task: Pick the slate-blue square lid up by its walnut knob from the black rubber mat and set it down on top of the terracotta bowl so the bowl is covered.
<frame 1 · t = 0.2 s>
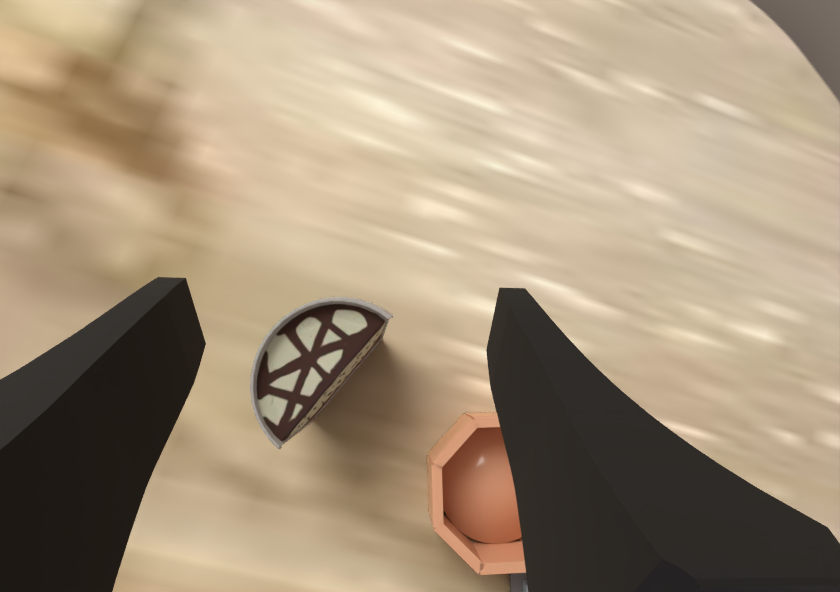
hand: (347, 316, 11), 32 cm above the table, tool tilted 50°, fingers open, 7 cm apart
food container: (322, 357, 42), on the table
bowl: (493, 480, 41), on the table
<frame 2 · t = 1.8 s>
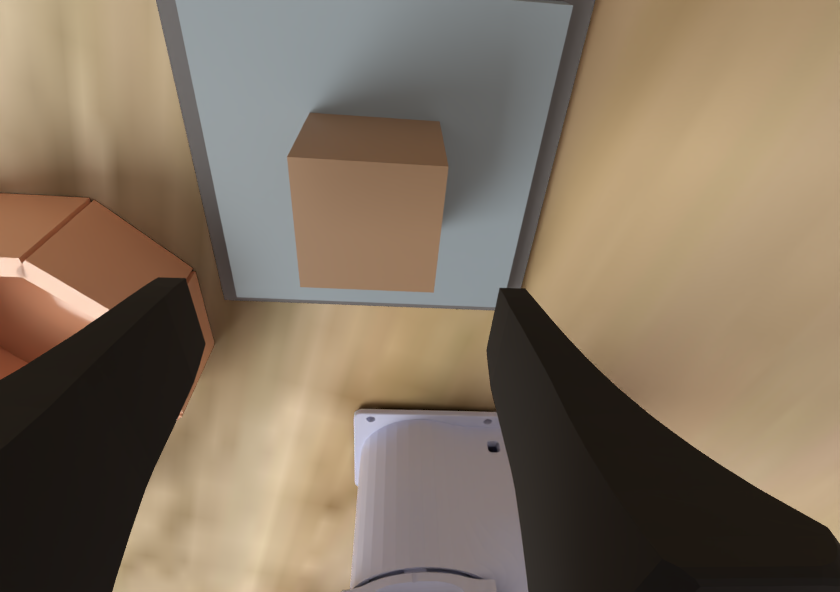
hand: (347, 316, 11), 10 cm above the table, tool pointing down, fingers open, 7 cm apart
lid: (372, 195, 16), on the mat
bowl: (82, 305, 23), on the table
mat: (375, 163, 19), on the table
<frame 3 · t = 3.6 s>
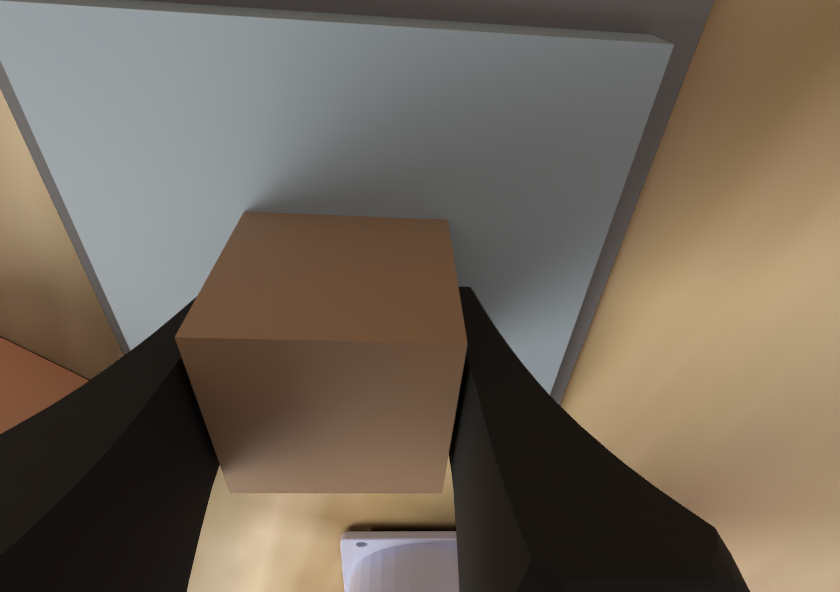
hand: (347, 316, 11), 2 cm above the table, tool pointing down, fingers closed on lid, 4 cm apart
lid: (344, 336, 11), on the mat, touching gripper
mat: (354, 263, 13), on the table
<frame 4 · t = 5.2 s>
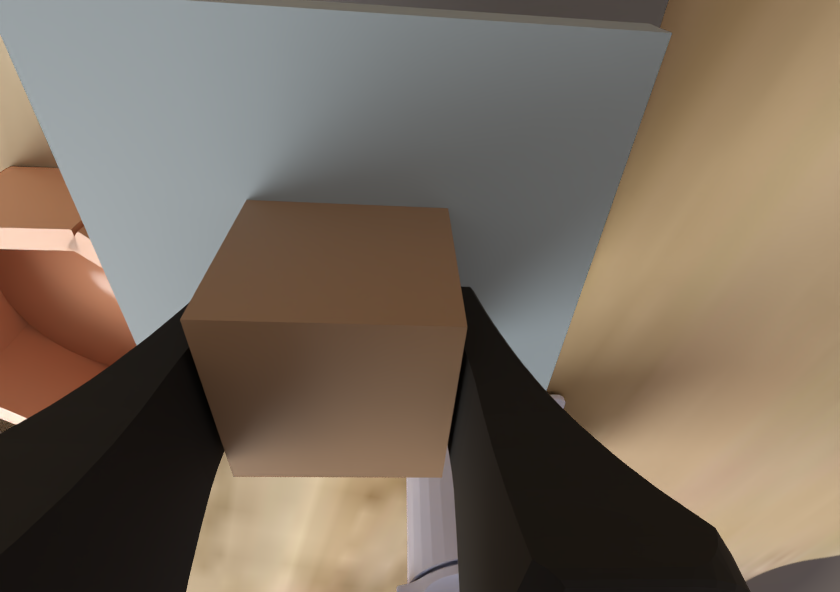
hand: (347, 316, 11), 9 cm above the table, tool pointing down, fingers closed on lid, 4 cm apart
lid: (346, 323, 11), point 10 cm above the table, touching gripper
bowl: (124, 287, 22), on the table
mat: (438, 125, 18), on the table
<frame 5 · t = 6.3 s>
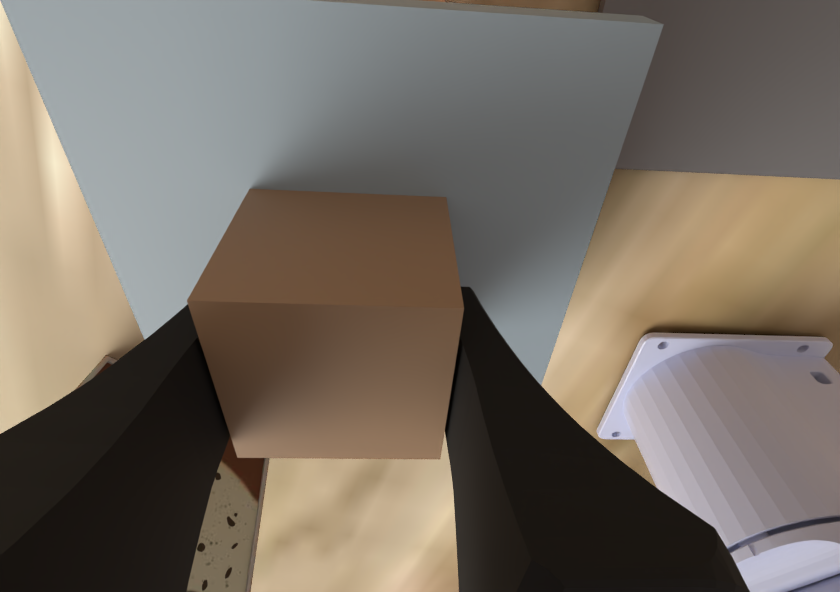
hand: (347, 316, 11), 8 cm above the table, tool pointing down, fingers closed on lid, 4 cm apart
lid: (346, 309, 11), point 8 cm above the table, touching gripper
food container: (170, 421, 26), on the table
when the fingers open (7 cm above the table, at t = 7.2 s): lid stays where it is, resting on bowl.
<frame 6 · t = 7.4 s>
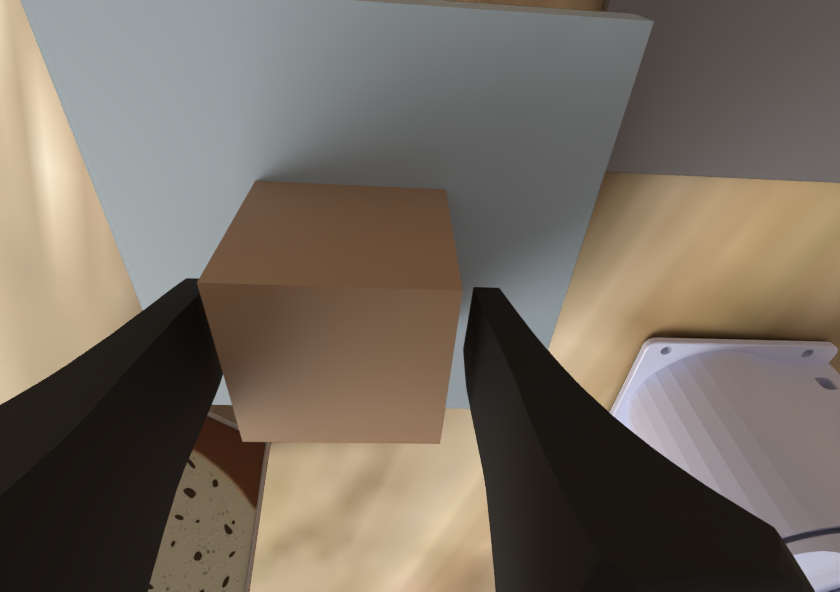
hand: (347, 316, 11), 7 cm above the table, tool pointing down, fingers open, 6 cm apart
lid: (349, 298, 11), on the bowl, point 7 cm above the table
food container: (167, 427, 26), on the table
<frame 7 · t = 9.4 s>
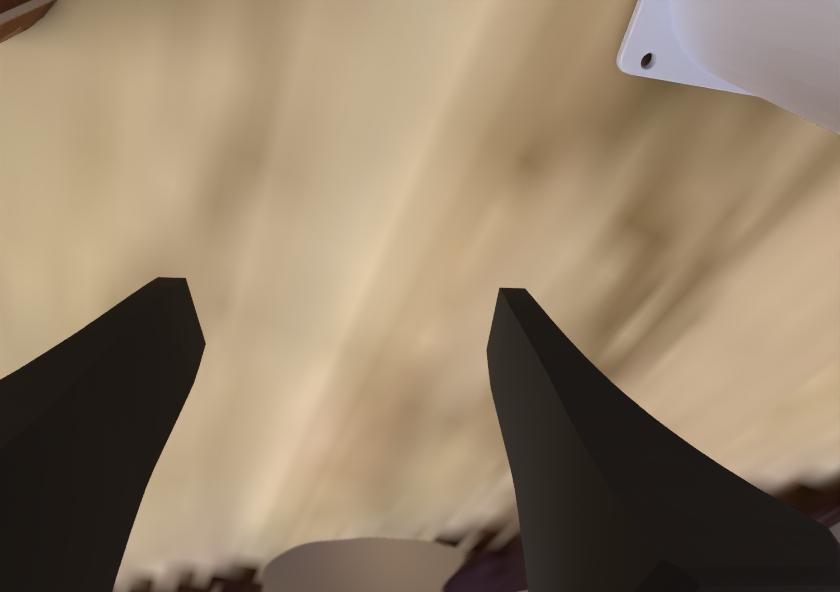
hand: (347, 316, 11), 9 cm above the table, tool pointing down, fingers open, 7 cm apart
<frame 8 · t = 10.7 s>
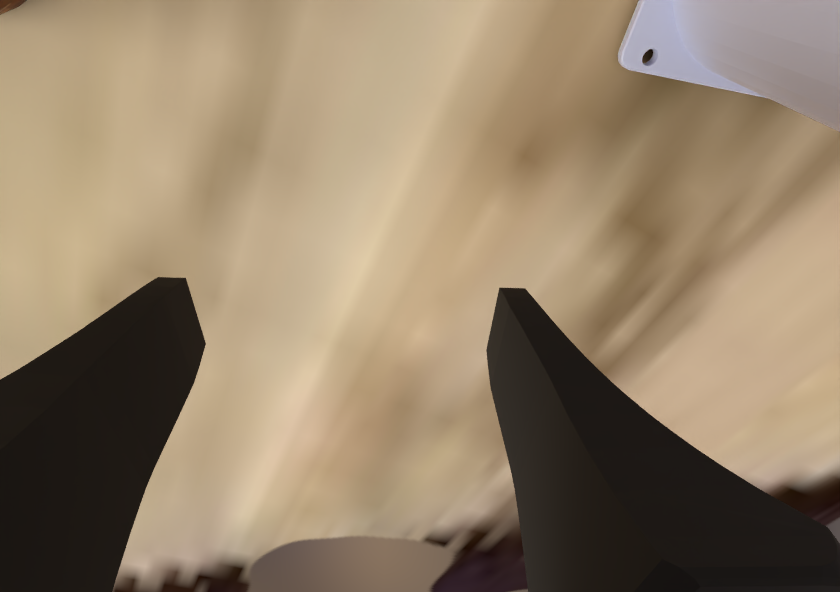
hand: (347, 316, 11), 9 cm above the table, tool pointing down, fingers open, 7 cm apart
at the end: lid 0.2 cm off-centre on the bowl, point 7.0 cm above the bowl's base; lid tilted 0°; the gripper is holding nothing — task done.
